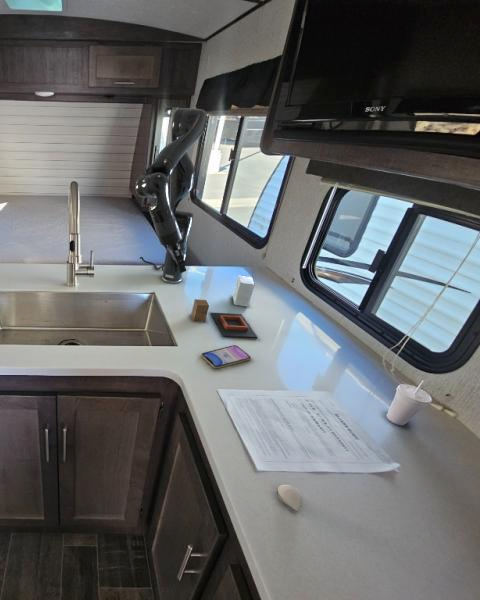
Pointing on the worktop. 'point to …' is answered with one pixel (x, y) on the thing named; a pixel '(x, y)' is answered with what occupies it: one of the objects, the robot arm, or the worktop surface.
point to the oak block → (200, 310)
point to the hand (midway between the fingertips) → (180, 266)
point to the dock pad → (233, 325)
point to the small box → (243, 290)
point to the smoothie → (407, 403)
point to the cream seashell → (290, 496)
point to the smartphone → (225, 356)
